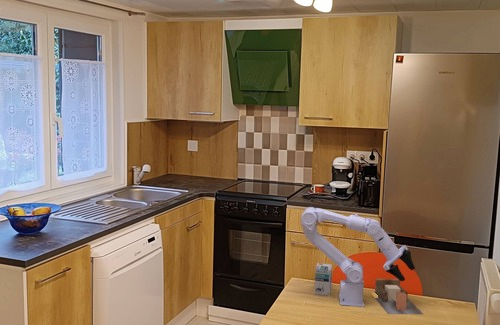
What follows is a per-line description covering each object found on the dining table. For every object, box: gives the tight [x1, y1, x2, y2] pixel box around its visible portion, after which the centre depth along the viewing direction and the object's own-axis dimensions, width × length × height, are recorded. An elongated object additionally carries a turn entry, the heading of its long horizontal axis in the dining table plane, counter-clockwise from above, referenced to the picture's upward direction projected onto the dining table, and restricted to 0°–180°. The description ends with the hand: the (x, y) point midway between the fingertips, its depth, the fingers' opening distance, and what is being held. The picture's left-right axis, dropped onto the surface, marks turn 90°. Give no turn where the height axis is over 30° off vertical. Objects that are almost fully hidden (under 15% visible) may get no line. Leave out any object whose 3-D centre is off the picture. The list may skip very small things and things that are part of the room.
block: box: [385, 285, 408, 310], centre depth 217 cm, size 5×15×6 cm, turn 3°
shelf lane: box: [374, 278, 424, 315], centre depth 217 cm, size 14×25×6 cm, turn 3°
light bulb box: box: [314, 262, 333, 296], centre depth 229 cm, size 11×7×11 cm, turn 168°
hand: (408, 274), depth 211 cm, fingers open, 7 cm apart
